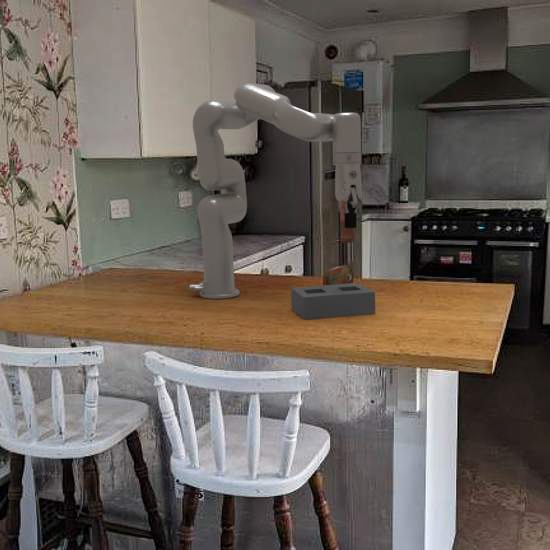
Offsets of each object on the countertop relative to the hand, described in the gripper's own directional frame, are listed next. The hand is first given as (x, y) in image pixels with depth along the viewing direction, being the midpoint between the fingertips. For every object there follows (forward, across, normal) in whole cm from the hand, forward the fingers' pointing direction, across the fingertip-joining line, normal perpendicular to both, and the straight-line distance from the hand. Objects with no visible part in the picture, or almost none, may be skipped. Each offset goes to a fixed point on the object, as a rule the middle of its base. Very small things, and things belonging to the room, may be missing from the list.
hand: (347, 226), depth 190 cm
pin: (+4, 0, 0) cm, 4 cm away
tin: (+24, +23, -4) cm, 33 cm away
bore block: (+23, 0, +5) cm, 24 cm away
